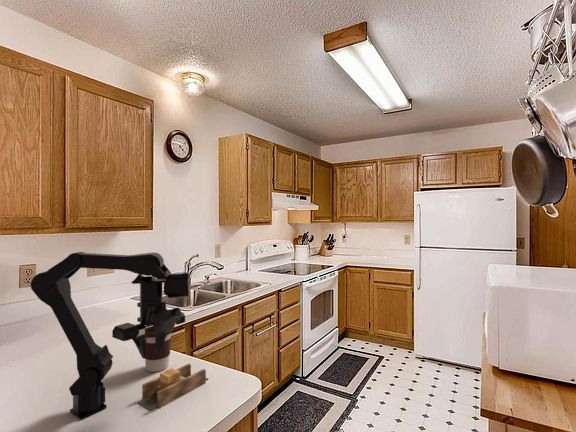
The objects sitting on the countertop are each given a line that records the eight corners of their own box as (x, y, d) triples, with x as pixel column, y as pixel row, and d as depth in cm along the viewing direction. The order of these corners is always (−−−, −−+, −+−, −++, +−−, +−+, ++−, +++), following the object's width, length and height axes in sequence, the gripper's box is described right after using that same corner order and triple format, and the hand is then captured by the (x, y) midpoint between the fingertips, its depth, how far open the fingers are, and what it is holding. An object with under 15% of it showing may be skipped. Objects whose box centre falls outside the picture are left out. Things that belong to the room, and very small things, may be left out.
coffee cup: (163, 358, 117) (163, 317, 117) (178, 366, 111) (178, 322, 111) (136, 368, 109) (136, 324, 109) (150, 377, 103) (150, 330, 103)
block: (168, 391, 91) (168, 377, 91) (159, 387, 93) (159, 373, 93) (180, 385, 94) (180, 371, 94) (171, 381, 96) (171, 368, 96)
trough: (152, 411, 84) (152, 396, 84) (135, 402, 89) (135, 387, 89) (210, 380, 101) (210, 367, 101) (193, 373, 105) (193, 361, 105)
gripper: (135, 311, 77) (135, 377, 76) (197, 295, 92) (197, 350, 92) (111, 304, 83) (111, 365, 83) (173, 291, 98) (173, 342, 98)
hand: (151, 355), depth 89 cm, fingers open, 4 cm apart
